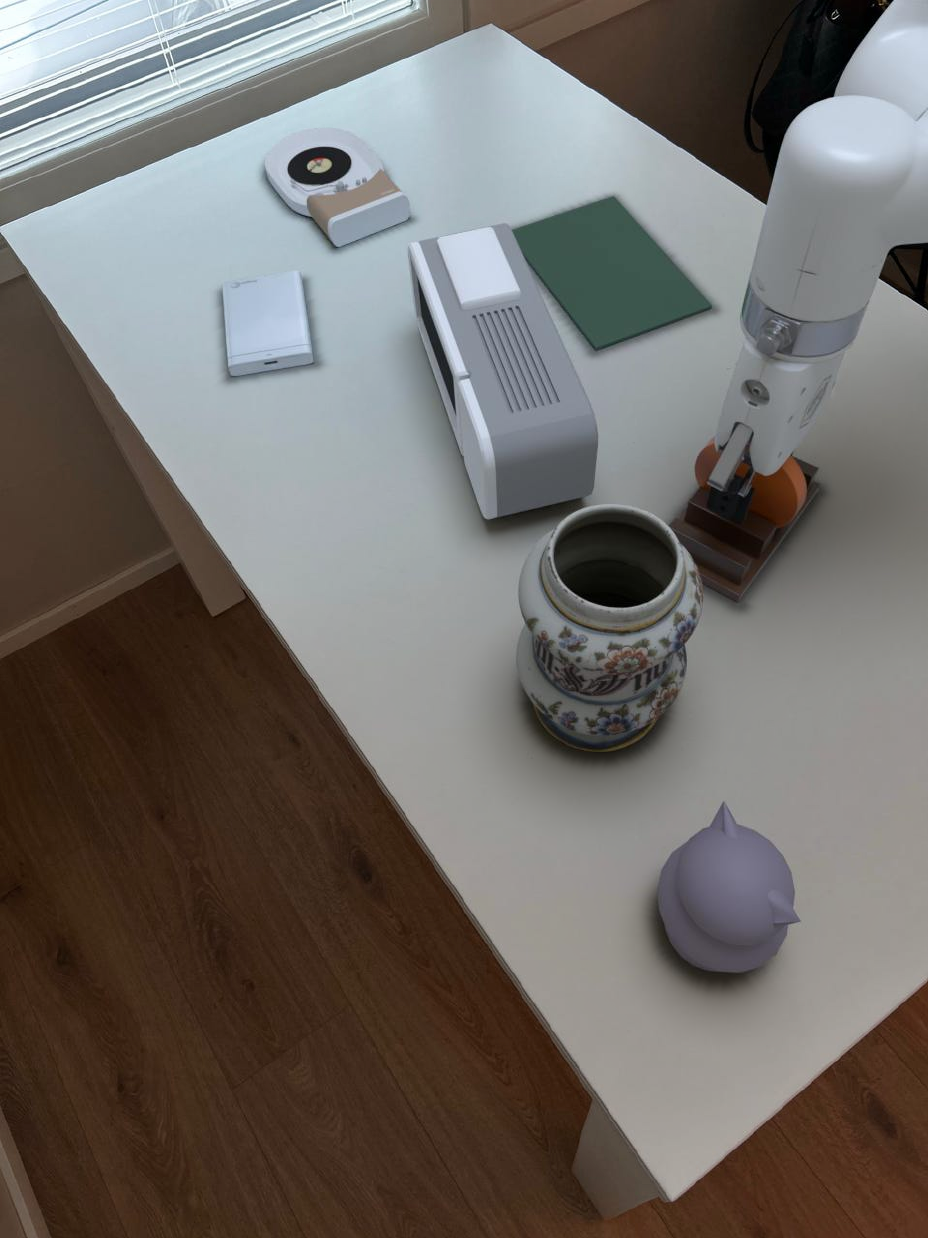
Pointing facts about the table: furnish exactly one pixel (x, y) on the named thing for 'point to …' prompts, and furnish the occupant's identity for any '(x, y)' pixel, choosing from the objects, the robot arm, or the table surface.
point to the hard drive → (266, 323)
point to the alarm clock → (502, 372)
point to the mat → (608, 272)
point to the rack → (733, 540)
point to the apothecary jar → (606, 625)
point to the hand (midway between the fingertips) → (748, 483)
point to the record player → (336, 183)
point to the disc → (762, 486)
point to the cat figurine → (726, 897)
